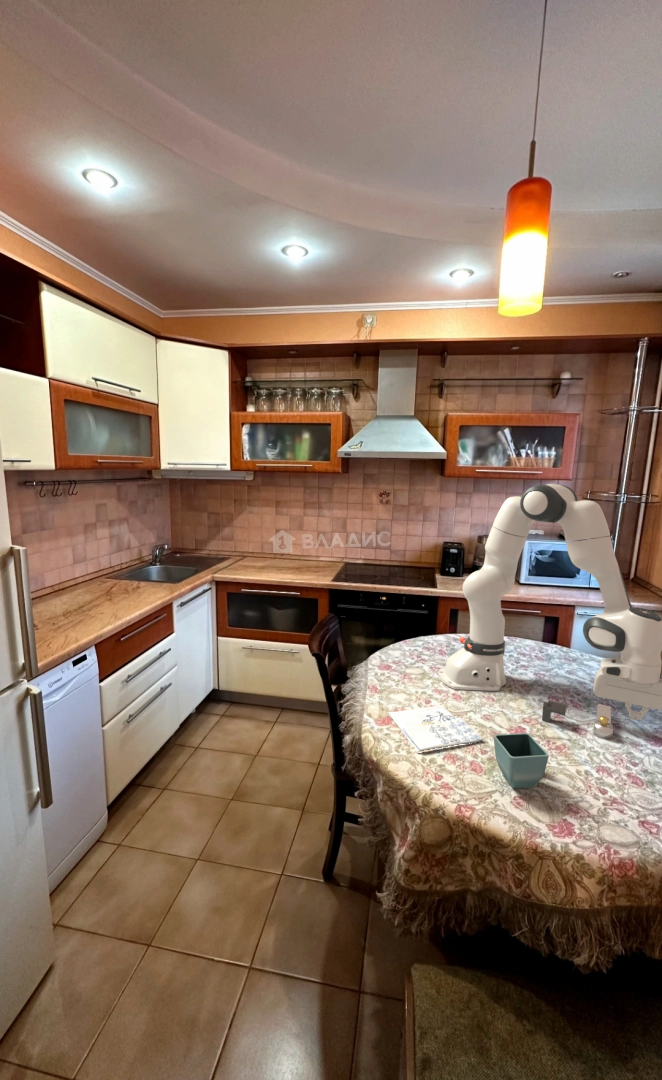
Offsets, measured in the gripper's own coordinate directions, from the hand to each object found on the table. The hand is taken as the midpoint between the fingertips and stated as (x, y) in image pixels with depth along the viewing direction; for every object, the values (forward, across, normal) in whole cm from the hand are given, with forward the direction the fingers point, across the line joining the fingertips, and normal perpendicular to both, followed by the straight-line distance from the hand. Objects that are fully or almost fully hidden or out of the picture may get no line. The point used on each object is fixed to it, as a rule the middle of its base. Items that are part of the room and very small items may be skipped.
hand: (635, 719), depth 117 cm
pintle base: (+5, +12, +6) cm, 14 cm away
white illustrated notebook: (+5, +47, +25) cm, 54 cm away
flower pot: (+5, +24, +36) cm, 43 cm away
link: (+3, +7, +2) cm, 8 cm away
